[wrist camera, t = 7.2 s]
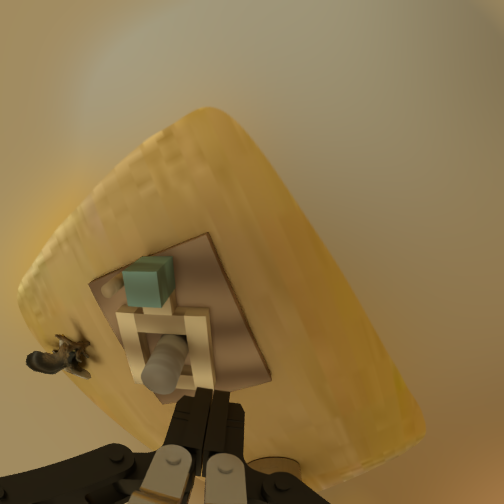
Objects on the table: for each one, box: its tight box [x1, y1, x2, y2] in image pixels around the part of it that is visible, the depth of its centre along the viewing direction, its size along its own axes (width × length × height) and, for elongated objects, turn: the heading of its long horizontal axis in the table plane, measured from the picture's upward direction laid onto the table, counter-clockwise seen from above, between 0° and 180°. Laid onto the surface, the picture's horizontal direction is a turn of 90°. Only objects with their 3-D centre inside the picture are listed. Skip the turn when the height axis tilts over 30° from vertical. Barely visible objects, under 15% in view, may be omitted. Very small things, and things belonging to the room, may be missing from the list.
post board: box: [88, 232, 271, 404], centre depth 24 cm, size 17×14×8 cm
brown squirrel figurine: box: [26, 334, 91, 379], centre depth 26 cm, size 8×7×9 cm
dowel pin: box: [101, 272, 124, 298], centre depth 23 cm, size 1×1×4 cm
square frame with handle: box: [116, 256, 216, 391], centre depth 24 cm, size 14×9×4 cm, turn 1°
